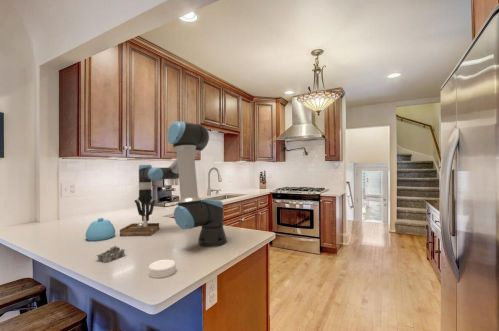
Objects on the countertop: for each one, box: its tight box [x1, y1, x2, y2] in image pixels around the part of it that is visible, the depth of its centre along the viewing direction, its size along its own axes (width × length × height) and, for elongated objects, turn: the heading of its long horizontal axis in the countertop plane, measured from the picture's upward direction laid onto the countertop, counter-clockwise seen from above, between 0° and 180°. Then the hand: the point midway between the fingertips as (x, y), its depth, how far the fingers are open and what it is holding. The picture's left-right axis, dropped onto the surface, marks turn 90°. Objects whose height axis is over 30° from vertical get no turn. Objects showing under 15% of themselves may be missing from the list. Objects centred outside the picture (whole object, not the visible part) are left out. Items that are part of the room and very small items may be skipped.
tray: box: [119, 222, 160, 237], centre depth 155 cm, size 16×18×4 cm
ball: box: [137, 222, 144, 229], centre depth 155 cm, size 4×4×4 cm
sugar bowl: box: [84, 217, 116, 242], centre depth 144 cm, size 15×15×12 cm
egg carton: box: [95, 245, 126, 263], centre depth 112 cm, size 11×8×4 cm
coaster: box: [148, 259, 177, 279], centre depth 96 cm, size 10×10×4 cm
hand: (145, 226), depth 155 cm, fingers closed
